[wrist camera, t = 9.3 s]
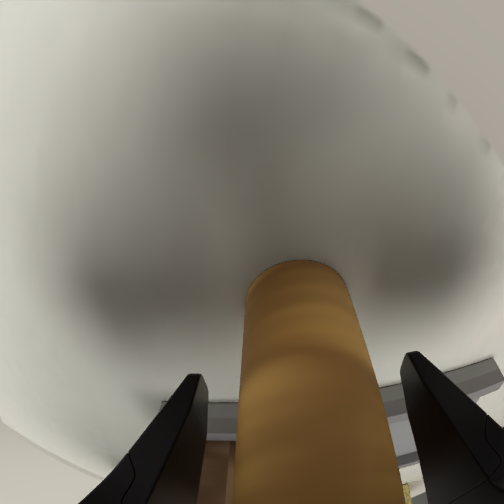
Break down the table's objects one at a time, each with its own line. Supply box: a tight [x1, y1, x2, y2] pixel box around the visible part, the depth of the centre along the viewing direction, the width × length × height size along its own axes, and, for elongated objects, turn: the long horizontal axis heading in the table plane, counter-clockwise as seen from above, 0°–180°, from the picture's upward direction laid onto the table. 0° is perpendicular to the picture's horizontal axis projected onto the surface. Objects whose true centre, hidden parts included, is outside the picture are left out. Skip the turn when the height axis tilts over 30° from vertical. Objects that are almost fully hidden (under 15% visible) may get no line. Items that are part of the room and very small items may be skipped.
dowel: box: [232, 260, 406, 504], centre depth 8 cm, size 4×4×9 cm
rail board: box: [159, 358, 504, 469], centre depth 14 cm, size 21×12×8 cm, turn 97°
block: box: [197, 440, 236, 504], centre depth 15 cm, size 10×9×5 cm
